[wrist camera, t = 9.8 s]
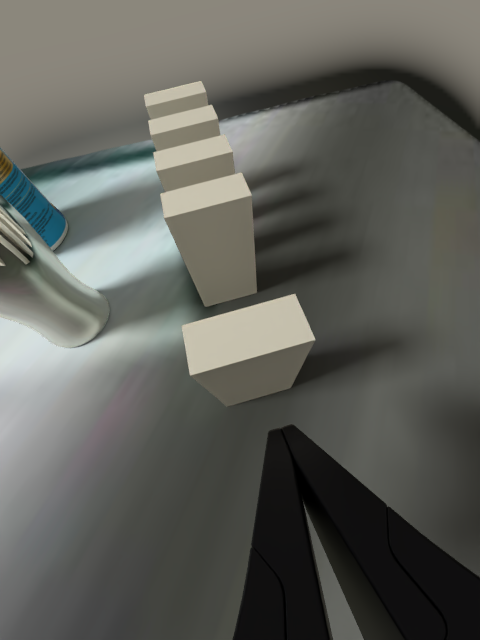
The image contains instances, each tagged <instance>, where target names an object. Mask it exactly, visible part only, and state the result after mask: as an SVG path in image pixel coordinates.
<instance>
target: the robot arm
mask: <svg viewBox="0 0 480 640" xmlns="http://www.w3.org/2000/svg"><path fill="white" fill-rule="evenodd" d="M302 499H303V500H302ZM303 502H304V504H303ZM304 505H305V507H306V510H307V512H308V514H309V517H310V519H311V521H312V523H313V526H314V528H315V530H316V532H317V535H318V537H319V539H320V541H321V544H322V546H323V548H324V550H325V553H326V555H327V557H328V559H329V562H330V564H331V566H332V568H333V571H334V573H335V575H336V577H337V580H338V582H339V584H340V586H341V589H342V591H343V593H344V595H345V598H346V600H347V602H348V604H349V607H350V609H351V611H352V613H353V616H354V618H355V620H356V622H357V625H358V627H359V629H360V631H361V634H362V636H363V638H364V640H480V577H478V576H477V575H476V574H474V573H473V572H471V571H470V570H469V569H467V568H466V567H465V566H463V565H462V564H460V563H459V562H458V561H457V560H455V559H454V558H453V557H451V556H450V555H449V554H447V553H446V552H445V551H443V550H442V549H441V548H439V547H438V546H437V545H435V544H434V543H433V542H431V541H430V540H429V539H428V538H426V537H425V536H424V535H423V534H421V533H420V532H419V531H418V530H417V529H415V528H414V527H413V526H412V525H410V524H409V523H408V522H407V521H406V520H404V519H403V518H402V517H401V516H400V515H399V514H397V513H396V512H395V511H394V510H393V509H392V508H390V507H387V505H386V503H384V502H383V501H382V500H381V499H380V498H379V497H377V496H376V495H375V494H374V493H373V492H371V491H370V490H369V489H368V488H367V487H366V486H364V485H363V484H362V483H361V482H360V481H359V480H357V479H356V478H355V477H354V476H353V475H352V474H350V473H349V472H348V471H347V470H346V469H345V468H343V467H342V466H341V465H340V464H339V463H338V462H336V461H335V460H334V459H333V458H332V457H331V456H329V455H328V454H327V453H326V452H325V451H324V450H322V449H321V448H320V447H319V446H318V445H317V444H315V443H314V442H313V441H312V440H311V439H310V438H308V437H307V436H306V435H305V434H304V433H303V432H301V431H300V430H299V429H298V428H297V427H296V426H294V425H292V424H291V425H287V426H284V427H282V428H281V429H280V428H277V429H273V430H270V431H269V432H268V437H267V444H266V451H265V457H264V464H263V471H262V477H261V484H260V490H259V497H258V504H257V510H256V517H255V523H254V530H253V537H252V543H251V545H252V548H251V549H250V555H249V562H248V568H247V574H246V580H245V585H244V591H243V596H242V601H241V606H240V610H239V615H238V619H237V623H236V628H235V632H234V637H233V640H333V637H332V632H331V628H330V623H329V618H328V614H327V609H326V605H325V600H324V595H323V591H322V586H321V582H320V577H319V572H318V568H317V563H316V559H315V554H314V549H313V545H312V540H311V536H310V531H309V526H308V522H307V517H306V513H305V508H304Z"/></svg>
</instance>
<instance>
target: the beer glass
mask: <svg viewBox="0 0 480 640" xmlns="http://www.w3.org/2000/svg"><path fill="white" fill-rule="evenodd" d="M109 312H110V307H109V303H108V301H107V299H106V298H105V296H104V295H102V294H101V293H100V292H98V291H96V290H95V289H93V288H91V287H89V286H87V285H86V284H84V283H82V282H81V281H80V280H78V279H77V278H76V277H75V276H74V275H73V274H71V273H70V272H69V271H68V269H67V268H66V267H65V266H64V265H63V263H62V262H61V261H60V260H59V258H58V257H57V256H56V255H55V253H54V252H53V251H52V250H51V248H50V247H49V246H48V245H47V243H46V242H45V241H44V240H43V238H42V237H41V236H40V235H39V234H38V232H37V231H36V230H35V229H34V228H33V227H32V226H31V224H30V223H29V222H28V221H27V220H26V219H25V218H24V217H23V215H22V214H21V213H20V212H19V211H18V210H17V209H16V208H14V207H13V206H12V205H11V204H10V203H9V202H8V201H7V200H6V199H5V198H4V197H3V196H2V195H1V194H0V318H4V319H7V320H11V321H14V322H17V323H19V324H22V325H25V326H27V327H29V328H31V329H32V330H34V331H36V332H37V333H38V334H40V335H41V336H42V337H44V338H45V339H46V340H48V341H49V342H50V343H52V344H54V345H56V346H58V347H63V348H73V347H77V346H80V345H83V344H85V343H87V342H89V341H90V340H92V339H93V338H94V337H95V336H97V335H98V334H99V332H100V331H101V330H102V329H103V327H104V326H105V324H106V322H107V320H108V317H109Z"/></svg>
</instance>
